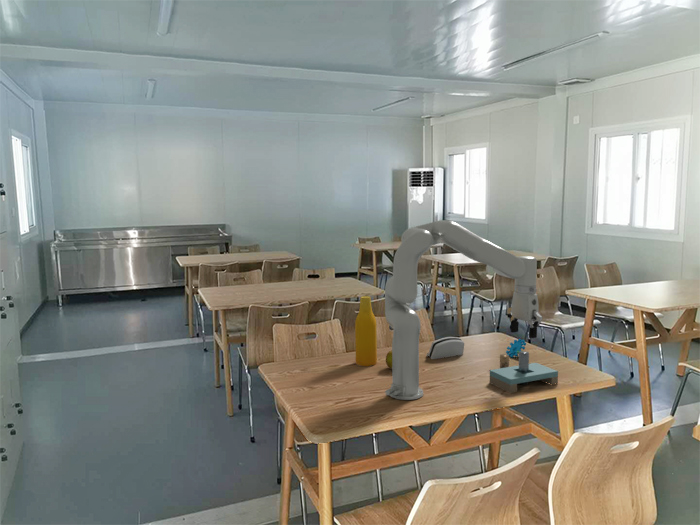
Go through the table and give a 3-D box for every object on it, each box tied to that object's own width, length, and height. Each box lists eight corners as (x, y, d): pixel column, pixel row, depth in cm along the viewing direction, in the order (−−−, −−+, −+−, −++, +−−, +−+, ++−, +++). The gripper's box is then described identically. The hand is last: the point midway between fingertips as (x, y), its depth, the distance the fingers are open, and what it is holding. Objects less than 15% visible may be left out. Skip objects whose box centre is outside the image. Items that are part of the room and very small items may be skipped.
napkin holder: (457, 351, 250) (461, 333, 246) (462, 357, 246) (467, 339, 242) (425, 356, 243) (429, 337, 239) (431, 362, 239) (435, 343, 235)
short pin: (506, 371, 220) (506, 357, 219) (498, 370, 222) (498, 355, 221) (510, 369, 222) (510, 355, 222) (502, 368, 225) (502, 353, 224)
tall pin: (525, 385, 203) (526, 354, 202) (516, 383, 205) (517, 352, 204) (529, 383, 206) (530, 352, 204) (520, 381, 208) (521, 350, 207)
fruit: (402, 364, 232) (402, 346, 231) (412, 370, 223) (412, 351, 223) (382, 367, 228) (381, 348, 228) (391, 373, 220) (391, 354, 219)
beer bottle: (375, 367, 229) (375, 299, 226) (354, 366, 231) (353, 298, 227) (378, 360, 238) (377, 295, 235) (357, 360, 240) (356, 295, 236)
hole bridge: (510, 392, 196) (510, 379, 195) (489, 382, 207) (489, 370, 206) (557, 384, 204) (558, 371, 204) (535, 374, 215) (535, 362, 215)
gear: (501, 349, 246) (517, 334, 245) (509, 358, 247) (525, 342, 246) (512, 360, 235) (529, 344, 234) (520, 368, 237) (537, 352, 236)
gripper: (550, 292, 195) (548, 339, 197) (516, 285, 211) (515, 329, 213) (534, 293, 192) (532, 341, 194) (501, 287, 208) (500, 330, 210)
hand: (523, 334), depth 203 cm, fingers open, 9 cm apart
